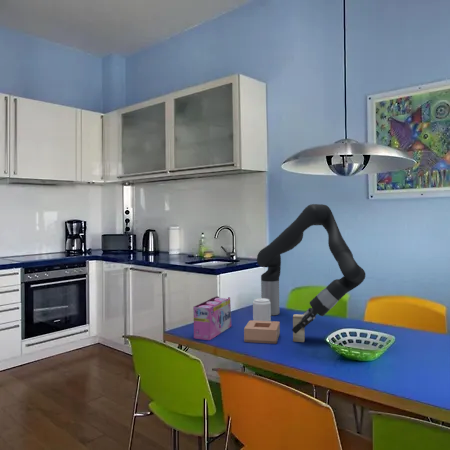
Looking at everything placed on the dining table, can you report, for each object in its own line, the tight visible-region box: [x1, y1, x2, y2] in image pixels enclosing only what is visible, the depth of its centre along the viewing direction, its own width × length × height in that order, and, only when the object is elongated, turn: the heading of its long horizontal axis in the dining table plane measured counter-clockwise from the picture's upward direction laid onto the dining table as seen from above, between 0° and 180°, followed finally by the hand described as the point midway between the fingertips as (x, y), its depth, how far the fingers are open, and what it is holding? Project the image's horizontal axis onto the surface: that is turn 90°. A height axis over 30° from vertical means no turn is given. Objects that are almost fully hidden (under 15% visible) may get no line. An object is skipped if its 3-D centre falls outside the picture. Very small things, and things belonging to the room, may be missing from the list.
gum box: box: [193, 295, 232, 341], centre depth 188 cm, size 24×8×14 cm, turn 156°
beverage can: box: [252, 297, 272, 321], centre depth 196 cm, size 8×8×12 cm
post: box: [292, 313, 306, 343], centre depth 174 cm, size 4×4×10 cm
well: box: [243, 319, 281, 345], centre depth 177 cm, size 13×13×6 cm
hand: (294, 329), depth 174 cm, fingers closed on post, 4 cm apart
